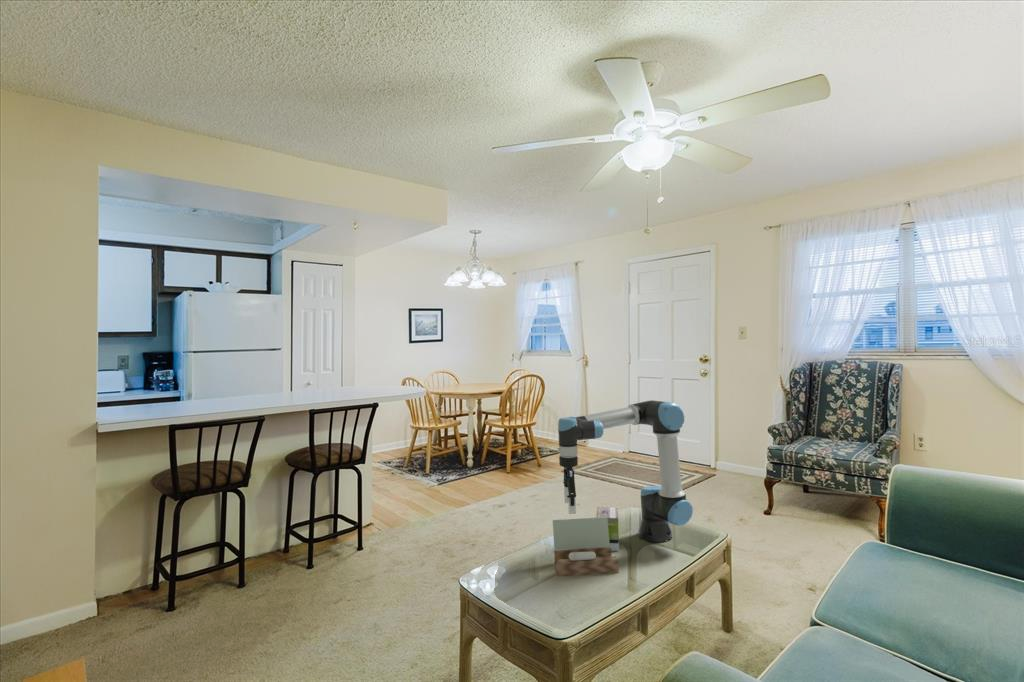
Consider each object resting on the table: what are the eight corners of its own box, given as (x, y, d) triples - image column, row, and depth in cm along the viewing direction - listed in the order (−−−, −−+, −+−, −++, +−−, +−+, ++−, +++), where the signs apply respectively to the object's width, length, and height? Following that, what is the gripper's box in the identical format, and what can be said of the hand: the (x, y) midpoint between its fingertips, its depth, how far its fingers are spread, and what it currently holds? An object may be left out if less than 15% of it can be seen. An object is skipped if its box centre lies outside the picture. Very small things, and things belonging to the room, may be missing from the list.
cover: (609, 546, 203) (609, 546, 204) (607, 517, 205) (606, 516, 206) (554, 550, 202) (554, 549, 202) (552, 520, 204) (552, 520, 205)
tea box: (620, 551, 210) (618, 517, 211) (596, 550, 212) (595, 517, 213) (619, 538, 225) (617, 506, 225) (597, 537, 227) (596, 506, 227)
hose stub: (595, 557, 193) (594, 549, 193) (596, 560, 190) (596, 552, 190) (568, 559, 193) (567, 551, 193) (569, 562, 190) (569, 554, 190)
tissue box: (610, 559, 203) (610, 547, 203) (618, 572, 191) (617, 559, 191) (554, 562, 201) (554, 550, 202) (558, 576, 189) (558, 562, 190)
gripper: (556, 450, 208) (557, 499, 208) (562, 462, 183) (564, 518, 183) (573, 449, 208) (574, 498, 208) (582, 462, 183) (584, 518, 183)
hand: (570, 508), depth 195 cm, fingers open, 13 cm apart
